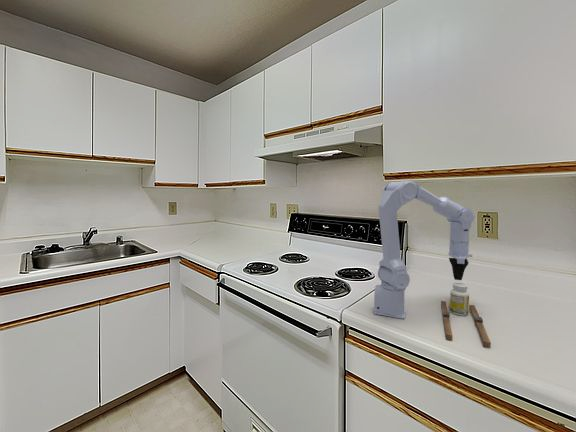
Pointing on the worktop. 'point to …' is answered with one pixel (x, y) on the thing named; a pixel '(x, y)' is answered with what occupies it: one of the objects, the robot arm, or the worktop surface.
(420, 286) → the worktop surface
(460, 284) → the supplement bottle
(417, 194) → the robot arm
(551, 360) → the worktop surface
